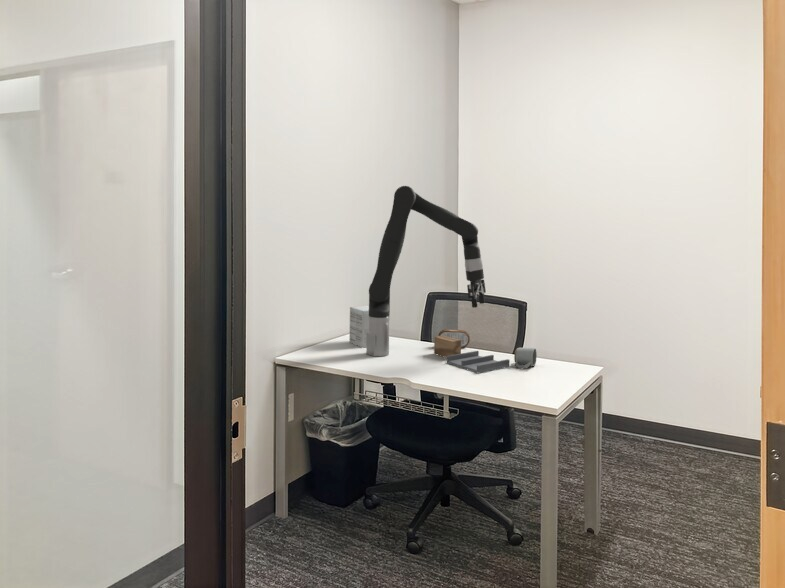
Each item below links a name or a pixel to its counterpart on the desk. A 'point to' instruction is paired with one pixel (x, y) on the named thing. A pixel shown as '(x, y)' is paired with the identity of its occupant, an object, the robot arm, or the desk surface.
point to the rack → (476, 362)
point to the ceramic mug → (525, 357)
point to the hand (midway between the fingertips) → (478, 305)
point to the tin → (457, 336)
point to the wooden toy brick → (446, 346)
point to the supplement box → (359, 325)
